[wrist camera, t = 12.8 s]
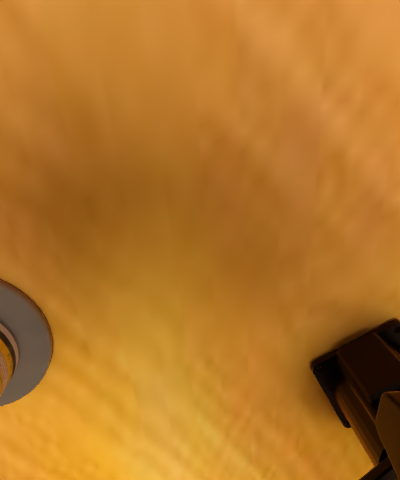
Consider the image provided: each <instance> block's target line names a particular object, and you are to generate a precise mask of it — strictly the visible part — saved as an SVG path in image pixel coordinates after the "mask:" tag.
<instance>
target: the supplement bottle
mask: <svg viewBox="0 0 400 480" xmlns="http://www.w3.org/2000/svg"><path fill="white" fill-rule="evenodd" d="M18 357H19V354H18V347H17V344H16V342H15V340H14V338H13V336H12V335H11V333H10V332H9V331H8V330H7V329H6V328H5V327H4V326H3V325H2V324H1V323H0V396H1V394H2V393H3V391H4V389H5V388H6V386H7V384H8V383H9V381H10V379H11V377H12V376H13V374H14V372H15V370H16V367H17V364H18Z"/></svg>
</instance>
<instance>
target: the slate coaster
mask: <svg viewBox="0 0 400 480" xmlns="http://www.w3.org/2000/svg"><path fill="white" fill-rule="evenodd" d="M0 323H1V324H2V325H3V326H4V327H5V328H6V329H7V330H8V331H9V332H10V333H11V335H12V336H13V338H14V340H15V342H16V344H17V347H18V354H19V357H18V364H17V367H16V370H15V372H14V374H13V376H12V377H11V379H10V381H9V383H8V384H7V386H6V388H5V389H4V391H3V393H2V394H1V396H0V406H3V405H6V404H9V403H12V402H14V401H16V400H18V399H21V398H22V397H24V396H25V395H27V394H28V393H29V392H31V391H32V390H33V389H34V388H35V387H36V386H37V385H38V384H39V382H40V381H41V379H42V378H43V376H44V375H45V372H46V370H47V368H48V366H49V363H50V361H51V357H52V351H53V340H52V334H51V330H50V327H49V325H48V322H47V320H46V318H45V316H44V315H43V313H42V312H41V310H40V309H39V308H38V306H37V305H36V304H35V303H34V302H33V301H32V300H31V299H30V298H29V297H28V296H27V295H25V294H24V293H23V292H21V291H20V290H19V289H17V288H15V287H14V286H12V285H11V284H9V283H6V282H4V281H2V280H0Z"/></svg>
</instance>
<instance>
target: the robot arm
mask: <svg viewBox="0 0 400 480" xmlns="http://www.w3.org/2000/svg"><path fill="white" fill-rule="evenodd" d="M396 327H398V328H397V329H395V328H396ZM320 366H321V367H320ZM318 367H320V368H318ZM317 368H318V369H317ZM311 370H312V371H313V373H314V375H315V377H316V378H317V380H318V382H319V384H320V385H321V387H322V389H323V391H324V392H325V394H326V396H327V398H328V399H329V401H330V403H331V404H332V406H333V408H334V410H335V411H336V413H337V415H338V417H339V418H340V420H341V422H342V423H343V425H344V426H345V427H346V428H351V427H352V429H353V430H354V432H355V434H356V436H357V437H358V439H359V441H360V442H361V444H362V446H363V448H364V449H365V451H366V453H367V454H368V456H369V458H370V460H371V461H372V463H373V465H374V466H375V467H374V468H372V469H371V470H370V471H369V472H368V473H366V474H365V475H364V476H363V477H362V478H360V479H359V480H400V321H399V320H393V321H391V322H389V323H387V324H385V325H383V326H381V327H379V328H377V329H375V330H373V331H371V332H369V333H367V334H365V335H363V336H361V337H359V338H357V339H356V340H354V341H352V342H350V343H348V344H346V345H344V346H342V347H340V348H338V349H336V350H334V351H332V352H330V353H328V354H326V355H324V356H322V357H321V358H319V359H317V360H315V361H313V362H312V364H311Z"/></svg>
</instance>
